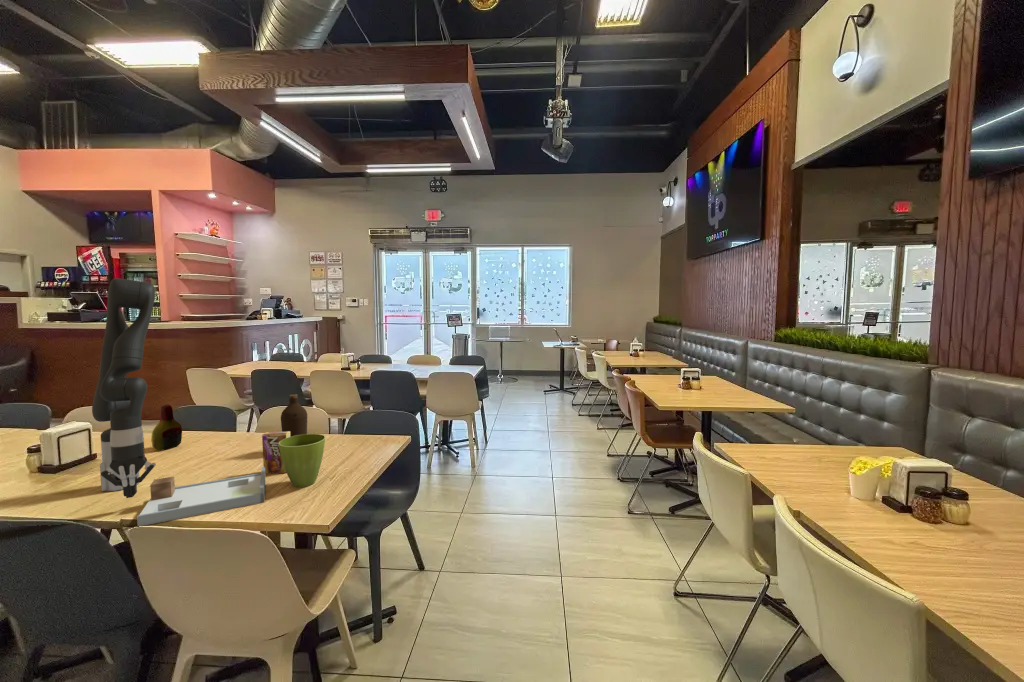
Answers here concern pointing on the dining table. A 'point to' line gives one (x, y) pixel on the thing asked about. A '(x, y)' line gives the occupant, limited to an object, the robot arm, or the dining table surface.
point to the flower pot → (302, 457)
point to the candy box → (273, 451)
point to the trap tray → (205, 498)
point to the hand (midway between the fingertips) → (130, 496)
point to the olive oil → (294, 418)
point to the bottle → (166, 430)
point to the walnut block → (162, 488)
